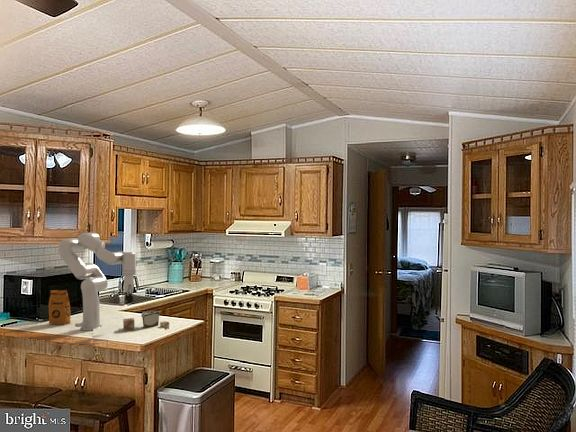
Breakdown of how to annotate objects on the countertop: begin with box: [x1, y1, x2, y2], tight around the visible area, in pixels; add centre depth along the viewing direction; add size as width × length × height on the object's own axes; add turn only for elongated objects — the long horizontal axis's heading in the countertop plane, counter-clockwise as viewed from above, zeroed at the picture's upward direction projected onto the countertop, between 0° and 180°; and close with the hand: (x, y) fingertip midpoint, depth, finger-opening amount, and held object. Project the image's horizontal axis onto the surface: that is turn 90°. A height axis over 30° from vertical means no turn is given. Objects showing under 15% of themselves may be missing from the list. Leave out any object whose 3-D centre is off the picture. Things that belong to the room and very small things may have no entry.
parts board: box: [117, 326, 141, 333], centre depth 286 cm, size 12×10×1 cm
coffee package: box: [48, 289, 71, 326], centre depth 308 cm, size 10×12×22 cm
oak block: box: [159, 320, 170, 330], centre depth 293 cm, size 4×4×4 cm
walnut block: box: [122, 317, 136, 332], centre depth 286 cm, size 6×6×6 cm
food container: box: [141, 310, 161, 329], centre depth 294 cm, size 12×6×10 cm, turn 141°
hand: (129, 300), depth 286 cm, fingers open, 9 cm apart
